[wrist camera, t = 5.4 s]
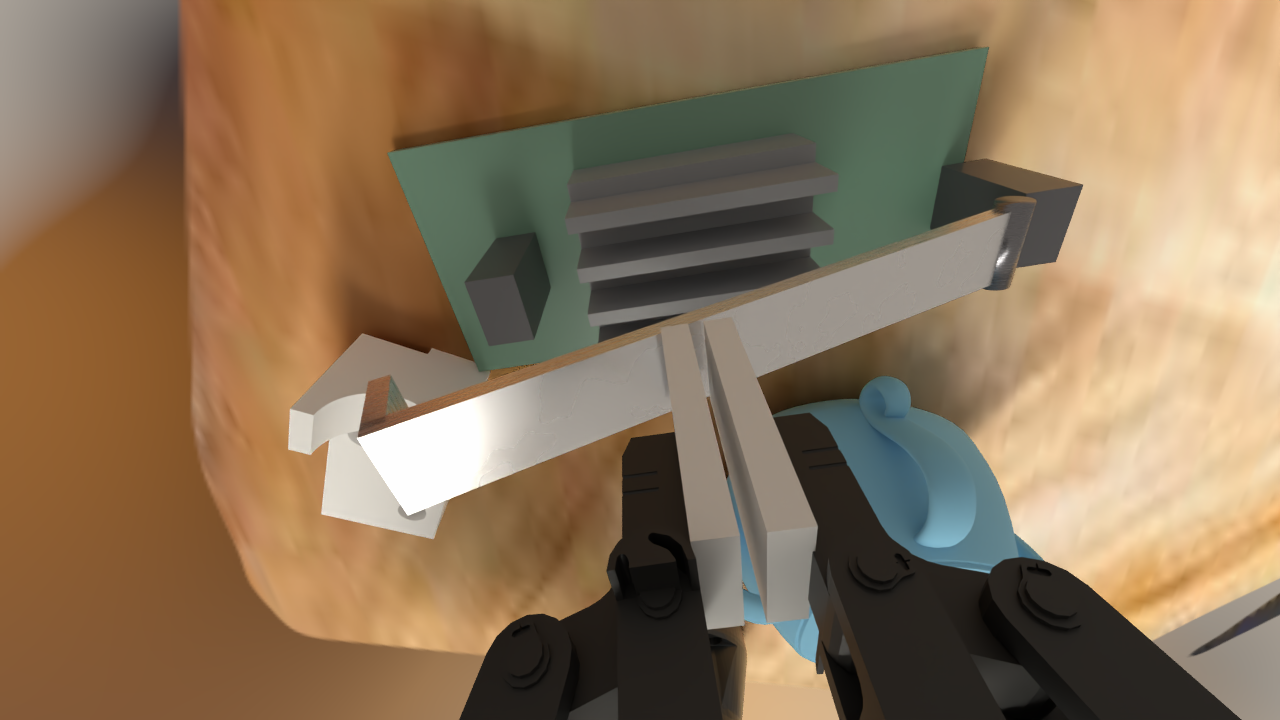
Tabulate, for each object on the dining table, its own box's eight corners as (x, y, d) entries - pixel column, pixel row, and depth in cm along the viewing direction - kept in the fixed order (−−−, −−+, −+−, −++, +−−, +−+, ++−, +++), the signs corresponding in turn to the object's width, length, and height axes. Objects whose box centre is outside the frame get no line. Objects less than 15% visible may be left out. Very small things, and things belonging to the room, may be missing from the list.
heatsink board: (942, 296, 26) (1022, 355, 21) (482, 364, 28) (449, 434, 22) (1000, 43, 20) (1136, 36, 14) (394, 150, 21) (320, 178, 16)
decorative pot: (770, 555, 39) (831, 757, 28) (664, 445, 32) (688, 661, 20) (965, 472, 34) (1136, 677, 23) (893, 320, 27) (1093, 511, 16)
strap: (946, 261, 20) (1017, 284, 18) (412, 457, 15) (410, 528, 12) (963, 186, 18) (1044, 199, 16) (365, 375, 13) (351, 440, 10)
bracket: (370, 325, 26) (290, 408, 20) (492, 364, 28) (454, 453, 22) (348, 472, 33) (282, 571, 26) (449, 498, 34) (410, 596, 28)
